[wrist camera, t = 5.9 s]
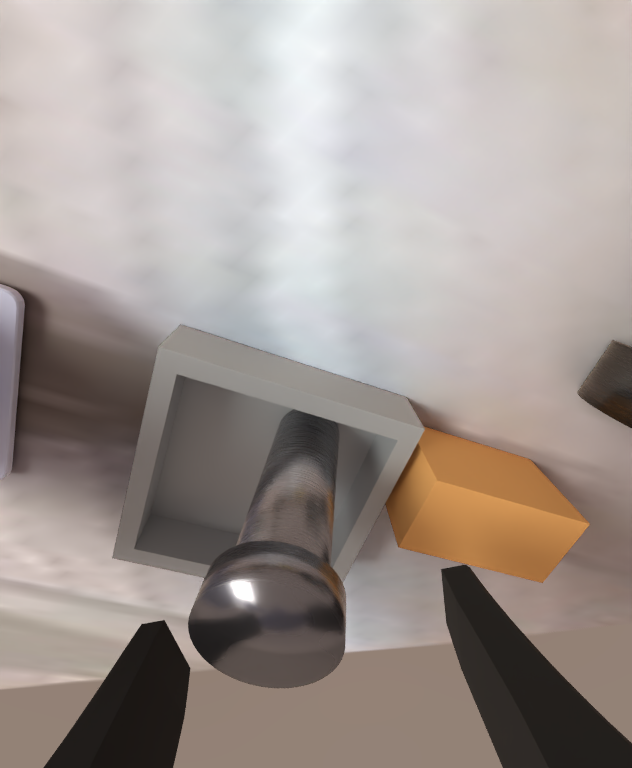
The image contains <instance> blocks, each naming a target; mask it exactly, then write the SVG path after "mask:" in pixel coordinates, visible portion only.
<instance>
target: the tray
mask: <svg viewBox="0 0 632 768" xmlns="http://www.w3.org/2000/svg"><path fill="white" fill-rule="evenodd" d="M293 409H295V410H298V411H302V412H305V413H308V414H312V415H315V416H318V417H322V418H325V419H328V420H332V421H335V422H336V424H337V426H338V429H339V450H338V465H337V479H336V493H335V508H334V522H333V537H332V551H331V567H332V568H333V569H334V570H335V572H336V573H337V574H338V576H339V577H340V579H341V581H342V583H343V581H344V579H345V578H346V576H347V574H348V572H349V570H350V568H351V566H352V564H353V563H354V561H355V559H356V557H357V555H358V553H359V551H360V550H361V548H362V546H363V544H364V542H365V540H366V538H367V536H368V535H369V533H370V531H371V529H372V527H373V525H374V523H375V522H376V520H377V518H378V516H379V514H380V512H381V510H382V509H383V507H384V505H385V503H386V501H387V499H388V497H389V495H390V494H391V492H392V490H393V488H394V486H395V484H396V482H397V481H398V479H399V477H400V475H401V473H402V471H403V469H404V468H405V466H406V464H407V462H408V460H409V458H410V456H411V454H412V453H413V451H414V449H415V447H416V445H417V443H418V441H419V440H420V438H421V436H422V434H423V432H424V430H425V428H424V427H423V425H422V423H421V421H420V420H419V418H418V416H417V415H416V413H415V411H414V409H413V408H412V406H411V404H410V402H409V401H408V399H407V397H404V396H401V395H398V394H395V393H392V392H388V391H385V390H382V389H379V388H376V387H373V386H370V385H367V384H364V383H361V382H357V381H354V380H351V379H348V378H345V377H342V376H339V375H336V374H333V373H330V372H326V371H323V370H320V369H317V368H314V367H311V366H308V365H305V364H302V363H299V362H295V361H292V360H289V359H286V358H283V357H280V356H277V355H274V354H271V353H267V352H264V351H261V350H258V349H255V348H252V347H249V346H246V345H243V344H240V343H236V342H233V341H230V340H227V339H224V338H221V337H218V336H215V335H212V334H209V333H205V332H202V331H199V330H196V329H193V328H190V327H187V326H184V325H181V324H180V325H179V326H178V328H177V329H176V330H175V331H174V332H173V333H172V334H171V335H170V336H169V337H168V338H167V339H166V340H165V341H164V342H163V343H162V344H161V345H160V346H159V347H158V351H157V355H156V360H155V365H154V369H153V374H152V378H151V383H150V388H149V392H148V397H147V401H146V406H145V410H144V415H143V420H142V424H141V429H140V433H139V438H138V442H137V447H136V452H135V456H134V461H133V465H132V470H131V474H130V479H129V484H128V488H127V493H126V497H125V502H124V506H123V511H122V516H121V520H120V525H119V529H118V534H117V538H116V543H115V548H114V552H113V557H112V558H114V559H119V560H124V561H129V562H133V563H138V564H143V565H147V566H152V567H157V568H162V569H166V570H171V571H176V572H181V573H185V574H190V575H195V576H199V577H204V578H205V576H206V574H207V571H208V569H209V567H210V566H211V564H212V563H213V561H214V560H215V559H216V558H217V557H218V556H219V555H220V554H222V553H223V552H225V551H226V550H228V549H230V548H232V547H234V546H236V544H237V541H238V538H239V536H240V533H241V530H242V527H243V524H244V522H245V519H246V516H247V513H248V510H249V508H250V505H251V502H252V499H253V496H254V494H255V491H256V488H257V485H258V482H259V480H260V477H261V474H262V471H263V468H264V466H265V463H266V460H267V457H268V454H269V452H270V449H271V446H272V443H273V441H274V438H275V435H276V432H277V429H278V427H279V424H280V421H281V420H282V418H283V417H284V416H285V415H286V414H287V413H288V412H290V411H291V410H293Z"/></svg>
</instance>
